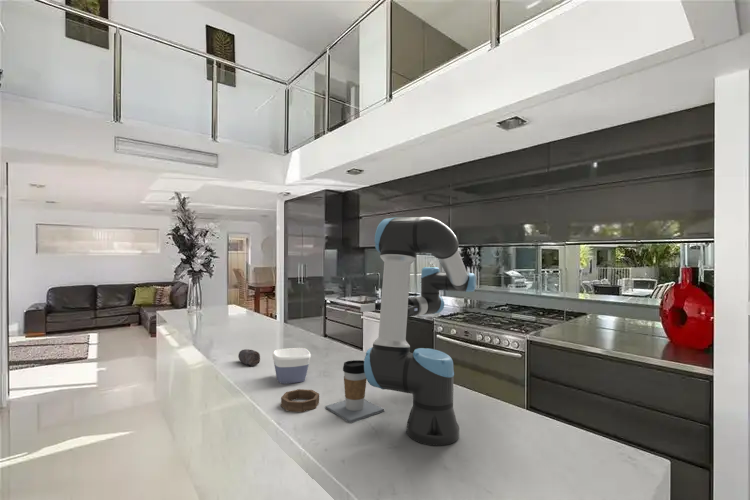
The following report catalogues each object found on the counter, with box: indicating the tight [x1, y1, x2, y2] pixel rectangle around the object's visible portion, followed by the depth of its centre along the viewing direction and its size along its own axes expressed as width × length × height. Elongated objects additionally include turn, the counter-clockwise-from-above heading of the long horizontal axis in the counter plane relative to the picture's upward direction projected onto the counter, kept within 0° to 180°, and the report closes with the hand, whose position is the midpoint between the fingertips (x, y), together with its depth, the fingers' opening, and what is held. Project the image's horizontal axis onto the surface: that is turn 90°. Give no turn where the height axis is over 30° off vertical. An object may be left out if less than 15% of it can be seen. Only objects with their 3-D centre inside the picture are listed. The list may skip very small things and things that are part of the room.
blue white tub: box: [272, 347, 312, 385], centre depth 151 cm, size 15×15×11 cm
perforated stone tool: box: [238, 348, 261, 367], centre depth 172 cm, size 15×5×7 cm, turn 48°
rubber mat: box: [324, 398, 385, 424], centre depth 121 cm, size 14×14×1 cm
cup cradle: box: [280, 388, 320, 413], centre depth 125 cm, size 12×12×3 cm
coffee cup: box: [342, 359, 367, 411], centre depth 121 cm, size 8×8×15 cm
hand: (372, 310), depth 131 cm, fingers open, 13 cm apart
